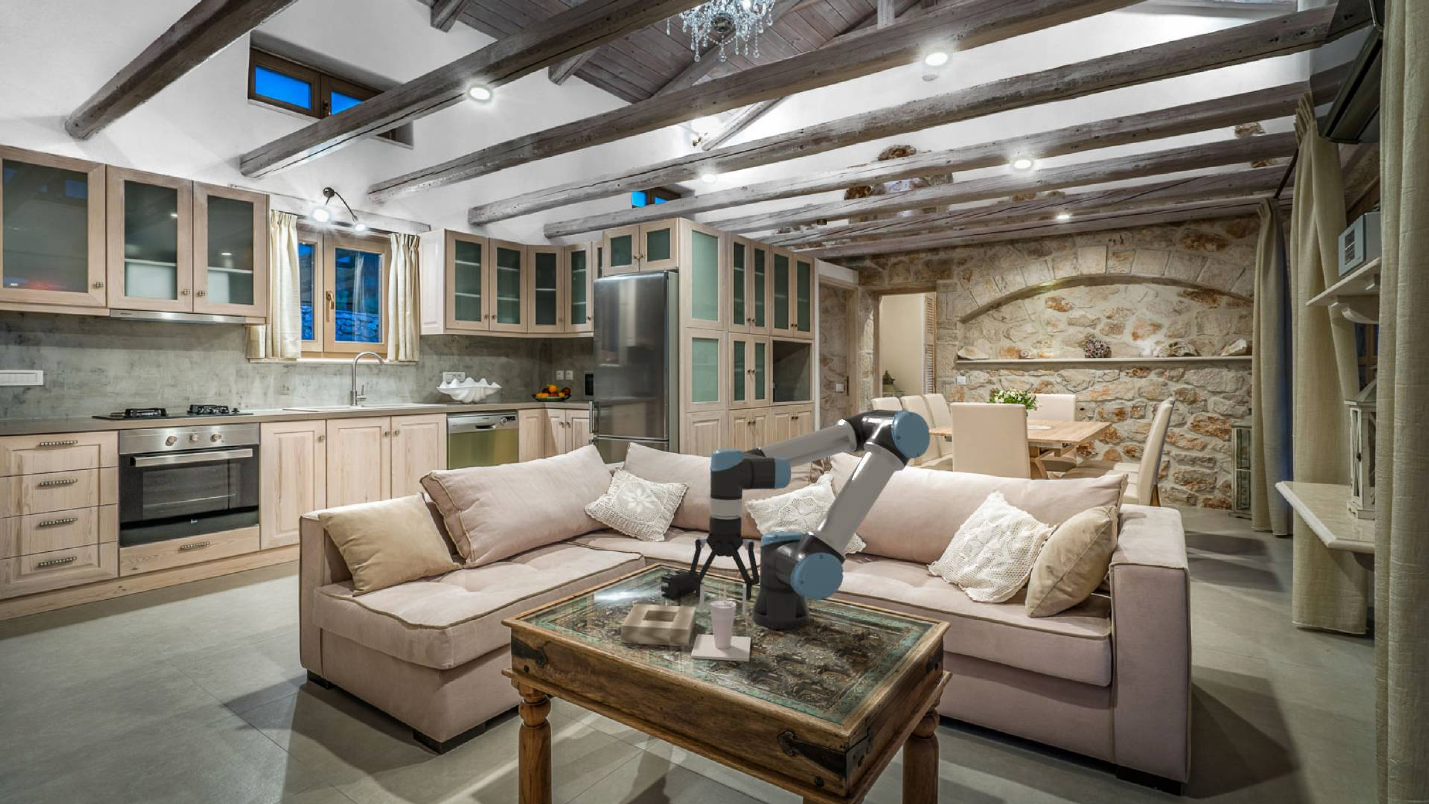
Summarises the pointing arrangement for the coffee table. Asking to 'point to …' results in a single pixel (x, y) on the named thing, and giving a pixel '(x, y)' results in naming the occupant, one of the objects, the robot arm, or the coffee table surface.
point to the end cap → (677, 584)
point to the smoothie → (722, 621)
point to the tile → (707, 649)
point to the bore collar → (659, 625)
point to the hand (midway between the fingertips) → (722, 612)
